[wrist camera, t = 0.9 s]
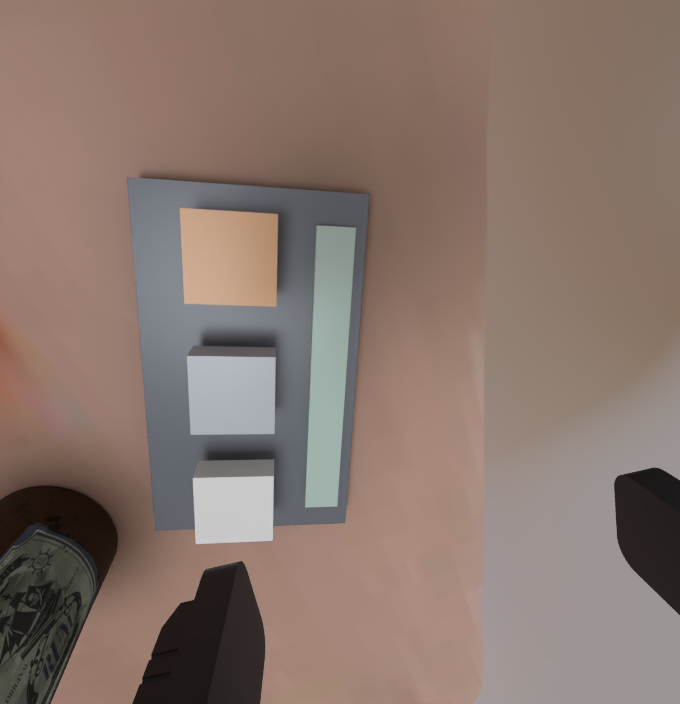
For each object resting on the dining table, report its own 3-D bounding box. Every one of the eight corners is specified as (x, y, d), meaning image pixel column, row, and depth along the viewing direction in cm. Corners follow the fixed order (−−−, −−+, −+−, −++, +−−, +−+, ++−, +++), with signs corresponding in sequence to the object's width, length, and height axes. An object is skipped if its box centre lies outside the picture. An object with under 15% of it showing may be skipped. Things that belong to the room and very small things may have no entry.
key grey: (196, 419, 28) (190, 434, 26) (193, 345, 26) (186, 355, 24) (274, 419, 28) (274, 433, 27) (275, 347, 27) (275, 357, 25)
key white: (201, 523, 30) (195, 544, 28) (198, 460, 29) (192, 477, 27) (273, 520, 31) (272, 540, 29) (274, 459, 29) (273, 476, 27)
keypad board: (162, 512, 33) (153, 536, 31) (138, 179, 26) (123, 175, 24) (341, 506, 35) (346, 528, 33) (363, 195, 28) (371, 193, 26)
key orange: (191, 297, 25) (184, 303, 23) (187, 208, 24) (179, 207, 22) (276, 300, 26) (276, 306, 24) (278, 214, 25) (277, 214, 23)
